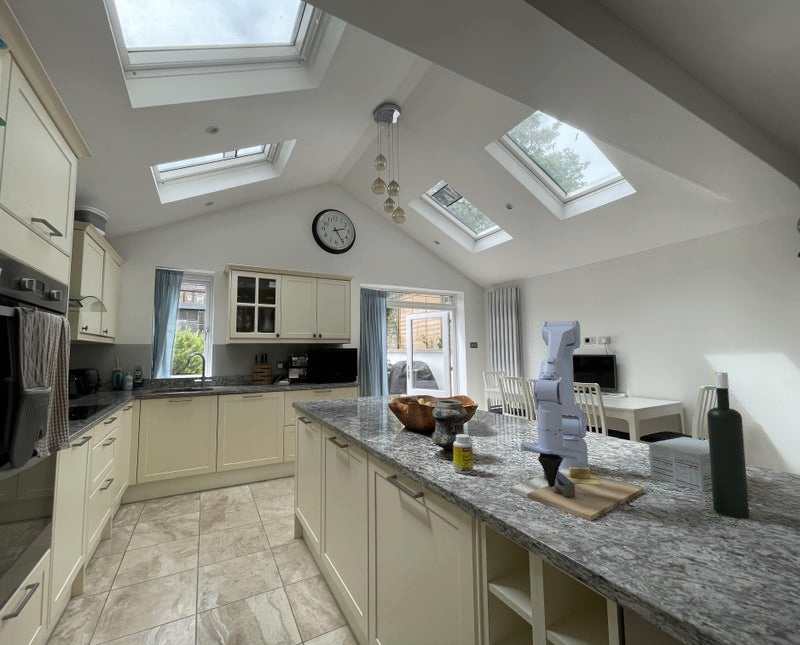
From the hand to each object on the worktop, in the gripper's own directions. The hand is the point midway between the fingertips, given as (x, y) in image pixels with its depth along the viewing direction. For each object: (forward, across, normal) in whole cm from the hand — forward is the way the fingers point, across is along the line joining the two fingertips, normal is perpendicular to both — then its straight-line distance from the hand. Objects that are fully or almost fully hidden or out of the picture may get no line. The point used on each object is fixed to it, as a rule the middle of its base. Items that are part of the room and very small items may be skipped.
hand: (551, 486), depth 90 cm
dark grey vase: (+2, -38, +12) cm, 40 cm away
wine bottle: (+2, +32, +16) cm, 36 cm away
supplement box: (+2, +25, +38) cm, 45 cm away
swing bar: (+1, 0, +4) cm, 4 cm away
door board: (+2, +4, +6) cm, 8 cm away
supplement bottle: (+2, -26, +2) cm, 26 cm away
